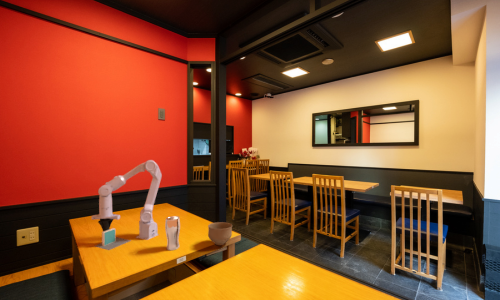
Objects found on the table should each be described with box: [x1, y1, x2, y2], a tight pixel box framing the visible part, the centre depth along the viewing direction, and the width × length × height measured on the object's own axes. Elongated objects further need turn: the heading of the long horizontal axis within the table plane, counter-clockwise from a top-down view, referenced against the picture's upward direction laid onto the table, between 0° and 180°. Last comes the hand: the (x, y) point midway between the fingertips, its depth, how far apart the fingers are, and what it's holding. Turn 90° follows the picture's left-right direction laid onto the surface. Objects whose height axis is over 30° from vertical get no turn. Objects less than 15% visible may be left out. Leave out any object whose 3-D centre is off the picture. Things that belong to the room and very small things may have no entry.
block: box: [101, 227, 116, 246], centre depth 112 cm, size 2×6×7 cm, turn 156°
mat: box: [94, 236, 132, 251], centre depth 112 cm, size 12×12×1 cm
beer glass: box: [164, 215, 181, 251], centre depth 107 cm, size 7×7×15 cm
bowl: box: [207, 221, 233, 246], centre depth 110 cm, size 13×13×10 cm
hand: (106, 232), depth 113 cm, fingers closed
